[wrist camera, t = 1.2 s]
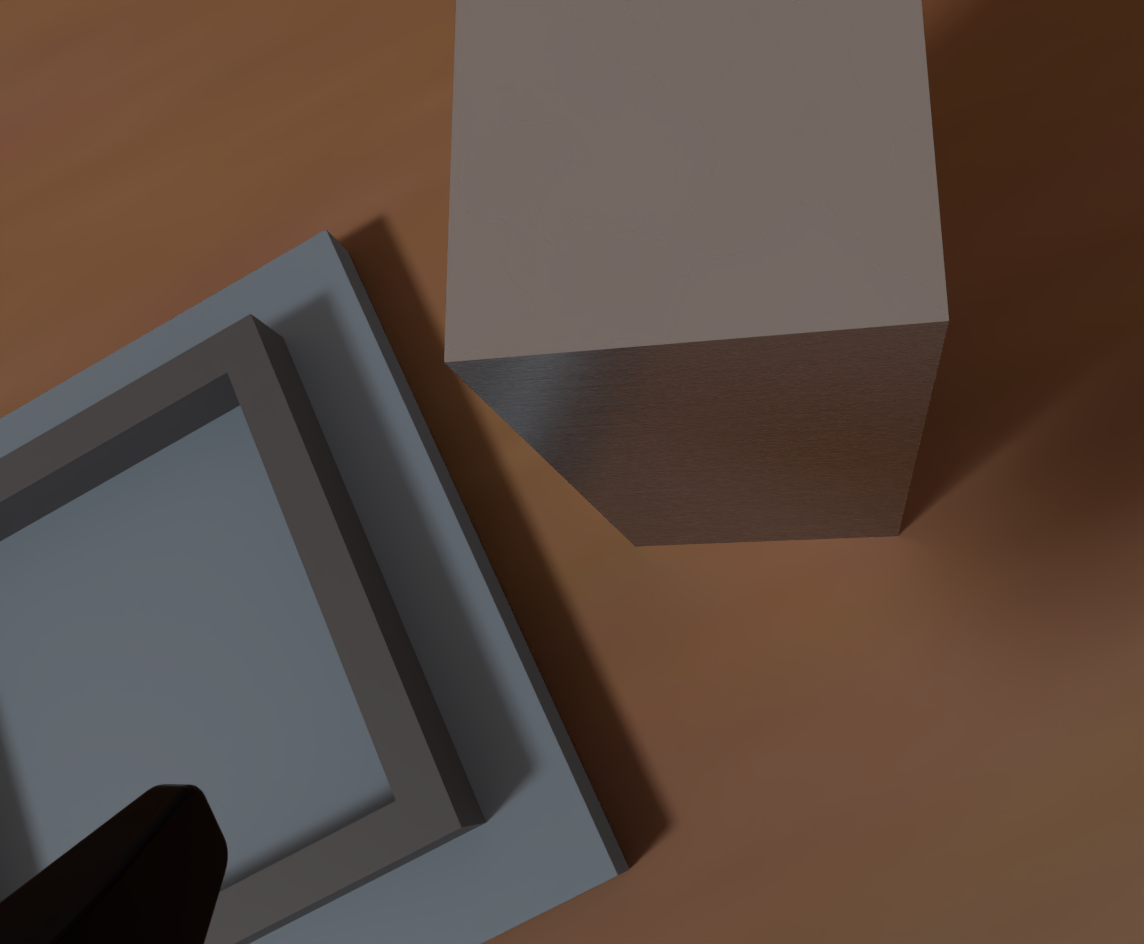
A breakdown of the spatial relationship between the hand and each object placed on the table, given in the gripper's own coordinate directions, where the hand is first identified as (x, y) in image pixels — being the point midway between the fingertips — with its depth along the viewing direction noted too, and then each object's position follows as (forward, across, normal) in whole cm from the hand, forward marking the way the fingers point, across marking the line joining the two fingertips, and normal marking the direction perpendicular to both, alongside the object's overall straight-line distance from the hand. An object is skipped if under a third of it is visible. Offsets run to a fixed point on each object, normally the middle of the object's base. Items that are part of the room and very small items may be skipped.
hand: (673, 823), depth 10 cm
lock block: (+15, 0, +4) cm, 15 cm away
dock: (+11, +14, +8) cm, 19 cm away
